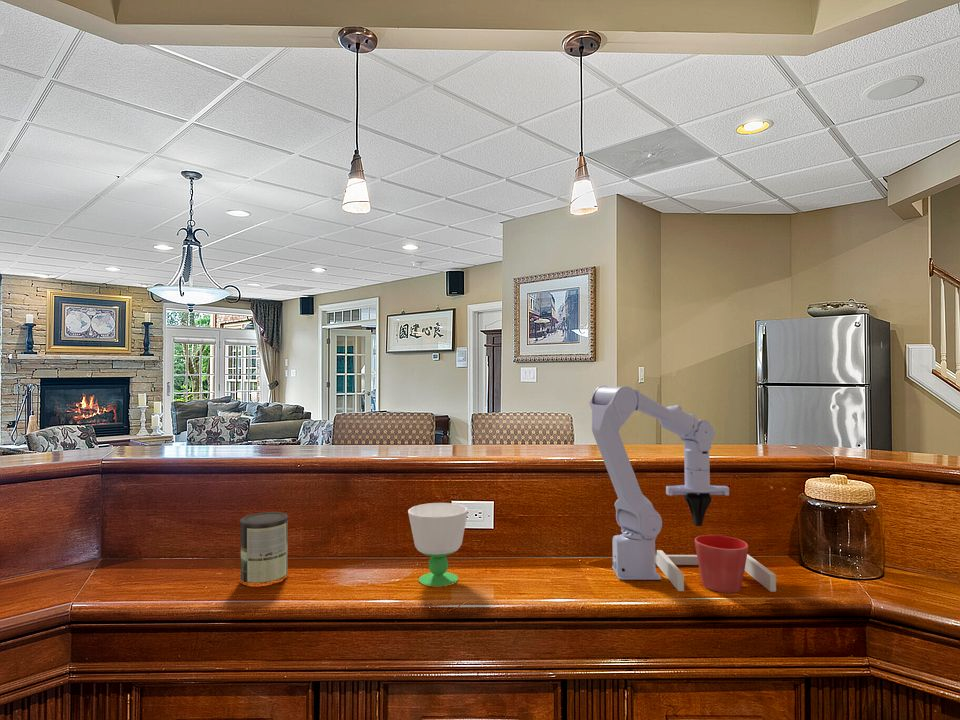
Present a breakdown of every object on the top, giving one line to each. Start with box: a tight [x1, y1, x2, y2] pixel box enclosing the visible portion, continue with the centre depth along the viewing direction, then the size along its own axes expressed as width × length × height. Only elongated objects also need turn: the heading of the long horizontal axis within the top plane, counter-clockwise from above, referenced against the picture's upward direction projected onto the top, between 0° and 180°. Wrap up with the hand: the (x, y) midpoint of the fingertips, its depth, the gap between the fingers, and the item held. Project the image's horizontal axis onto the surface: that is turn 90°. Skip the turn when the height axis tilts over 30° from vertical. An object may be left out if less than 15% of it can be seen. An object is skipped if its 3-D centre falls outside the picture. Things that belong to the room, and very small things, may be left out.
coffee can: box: [239, 511, 289, 583], centre depth 130 cm, size 10×10×14 cm
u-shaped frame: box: [655, 549, 777, 593], centre depth 129 cm, size 20×18×4 cm
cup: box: [407, 502, 469, 587], centre depth 128 cm, size 14×14×16 cm
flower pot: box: [694, 534, 749, 593], centre depth 123 cm, size 11×11×10 cm
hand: (697, 524), depth 137 cm, fingers closed
